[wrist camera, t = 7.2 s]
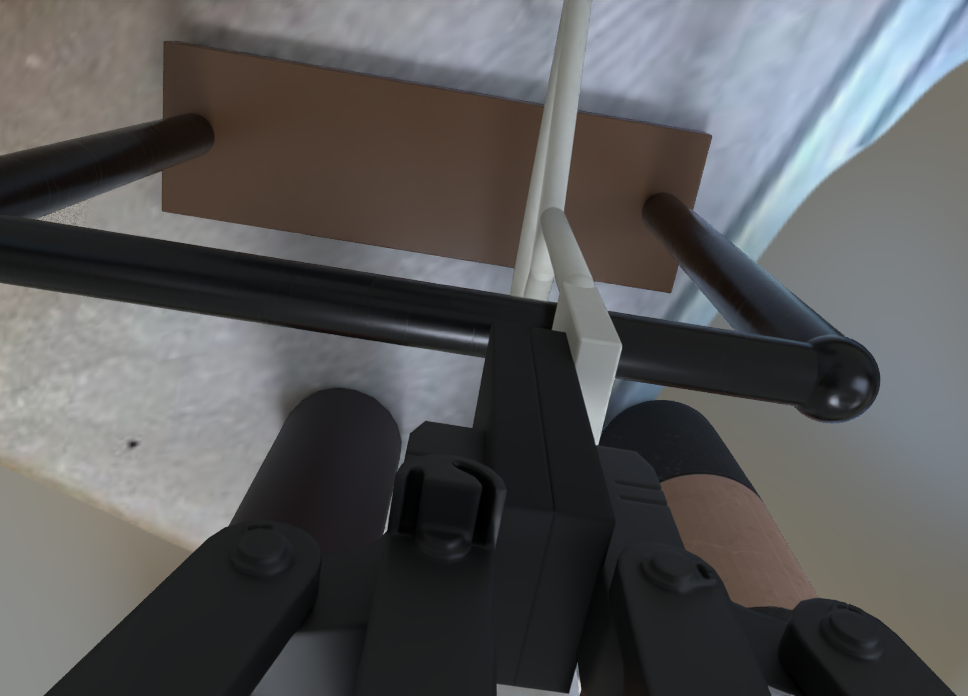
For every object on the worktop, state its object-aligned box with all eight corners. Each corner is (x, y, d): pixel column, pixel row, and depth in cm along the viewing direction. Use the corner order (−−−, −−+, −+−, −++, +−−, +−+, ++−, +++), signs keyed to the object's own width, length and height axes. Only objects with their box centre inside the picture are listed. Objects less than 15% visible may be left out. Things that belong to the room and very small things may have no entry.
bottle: (274, 473, 46) (126, 769, 27) (297, 371, 43) (151, 619, 25) (386, 501, 46) (317, 809, 28) (415, 403, 44) (360, 667, 25)
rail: (175, 40, 37) (-261, 36, 16) (705, 132, 38) (976, 243, 17) (172, 205, 40) (-198, 393, 18) (665, 285, 41) (854, 546, 20)
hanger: (581, -102, 27) (730, -341, 10) (604, -98, 27) (789, -329, 10) (477, 468, 35) (464, 852, 18) (494, 471, 35) (497, 857, 18)
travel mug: (645, 533, 47) (747, 854, 28) (563, 451, 45) (614, 738, 26) (749, 458, 45) (932, 749, 26) (668, 368, 43) (804, 614, 24)
